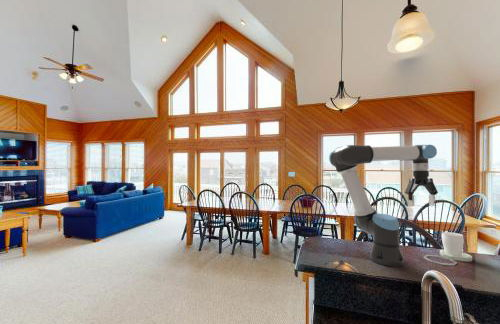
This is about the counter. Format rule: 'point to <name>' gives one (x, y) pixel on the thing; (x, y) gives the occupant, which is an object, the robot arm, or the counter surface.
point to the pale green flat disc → (464, 257)
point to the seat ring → (439, 262)
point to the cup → (453, 243)
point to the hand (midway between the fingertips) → (421, 205)
